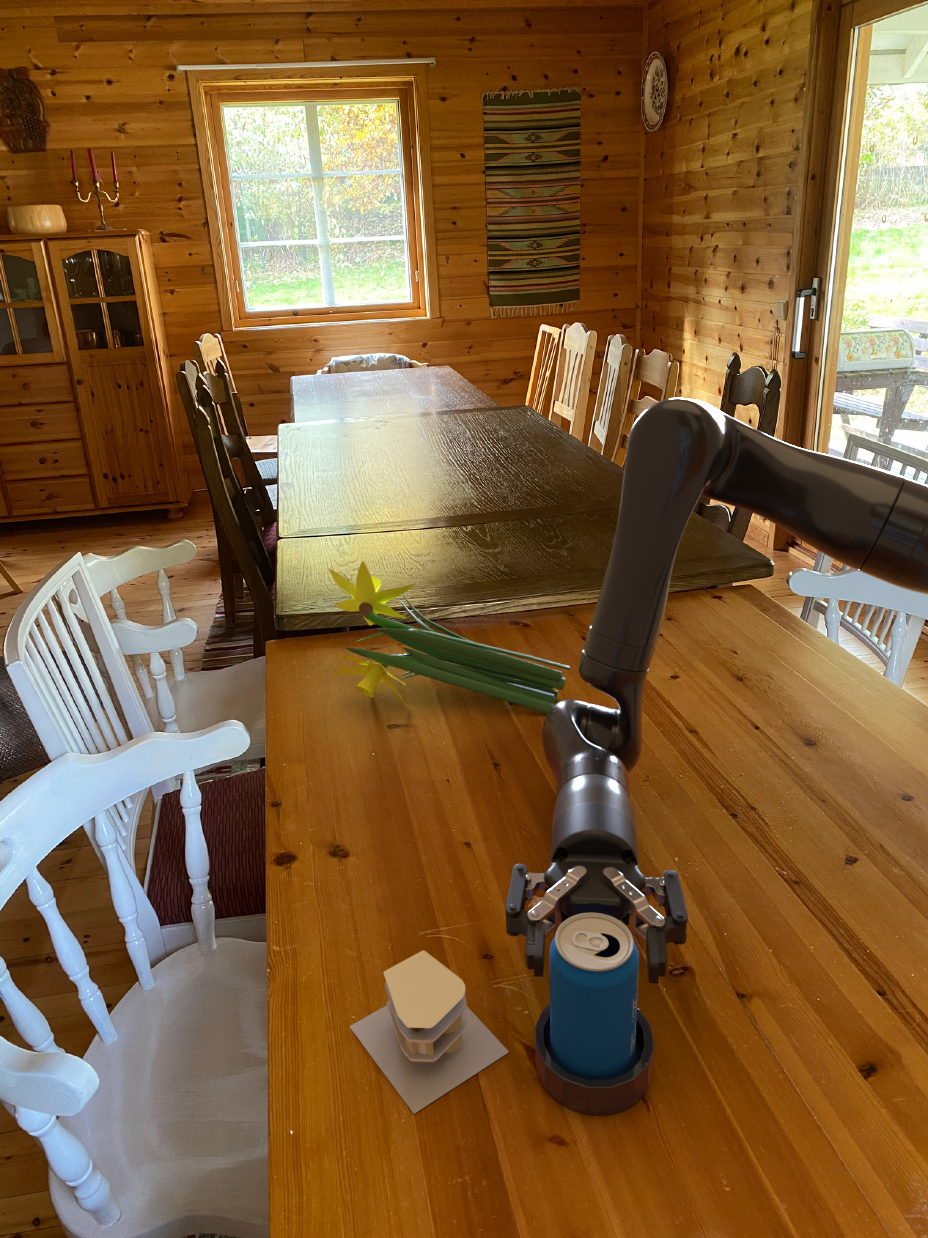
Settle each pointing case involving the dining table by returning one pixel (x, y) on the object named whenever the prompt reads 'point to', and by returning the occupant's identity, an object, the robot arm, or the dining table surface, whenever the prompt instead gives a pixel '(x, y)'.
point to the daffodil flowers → (442, 653)
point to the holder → (592, 1092)
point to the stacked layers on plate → (426, 1032)
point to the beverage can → (593, 996)
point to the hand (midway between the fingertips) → (596, 972)
